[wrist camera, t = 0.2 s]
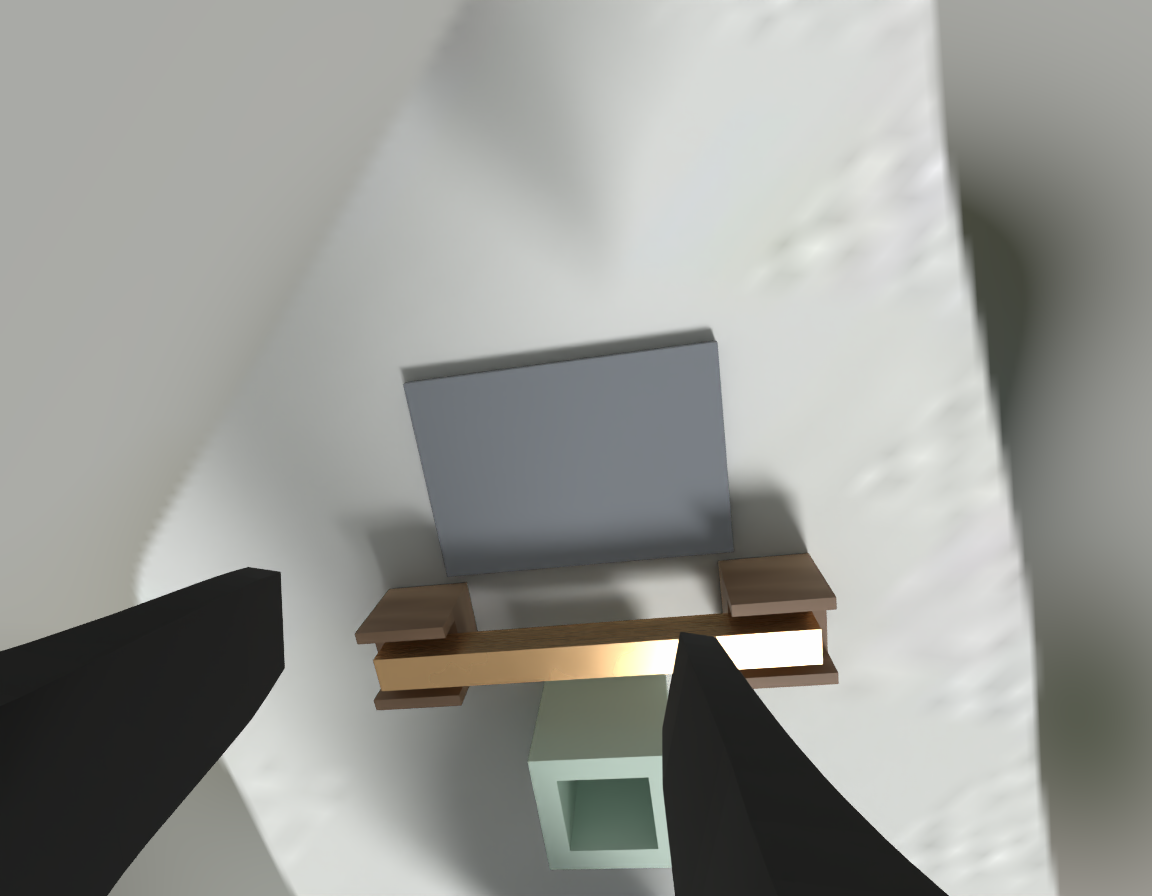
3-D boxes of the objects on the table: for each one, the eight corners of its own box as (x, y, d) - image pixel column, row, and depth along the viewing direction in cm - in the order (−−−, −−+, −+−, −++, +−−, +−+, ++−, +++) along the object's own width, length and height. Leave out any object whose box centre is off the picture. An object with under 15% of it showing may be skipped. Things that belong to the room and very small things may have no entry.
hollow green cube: (676, 767, 23) (685, 867, 19) (563, 771, 23) (549, 870, 19) (665, 669, 21) (672, 755, 18) (545, 677, 22) (527, 761, 18)
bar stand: (811, 630, 20) (838, 684, 18) (407, 658, 22) (376, 710, 20) (808, 552, 20) (836, 597, 17) (389, 588, 22) (354, 633, 19)
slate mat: (731, 546, 20) (733, 551, 19) (450, 571, 21) (447, 576, 21) (715, 340, 18) (717, 342, 17) (407, 381, 19) (403, 384, 19)
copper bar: (810, 639, 19) (822, 664, 17) (395, 667, 20) (381, 691, 19) (809, 606, 18) (821, 629, 17) (387, 638, 20) (373, 660, 19)
